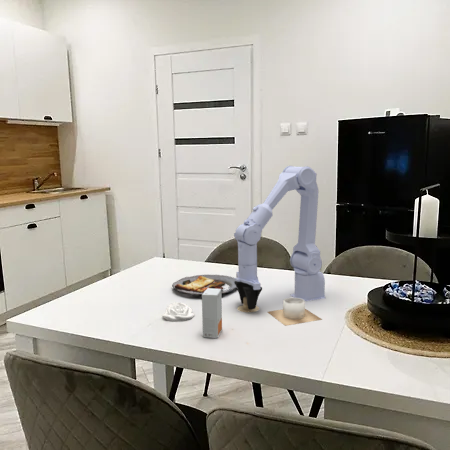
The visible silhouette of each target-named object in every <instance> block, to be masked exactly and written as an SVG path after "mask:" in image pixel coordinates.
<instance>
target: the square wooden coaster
mask: <svg viewBox="0 0 450 450" xmlns="http://www.w3.org/2000/svg"><path fill="white" fill-rule="evenodd" d="M267 313H268V314H269V315H270V316H272V317H273V318H274V319H276V320H277V321H278V322H279V323H280V324H282V325H283V326H285V327H288V326H292V325H299V324H304V323H305V324H306V323H310V322H315V321H321V320H323V318H321V317H319V316H318V315H316V314H315V313H313V312H311V311H310V310H308V309H307V308H305V317H304V318H302V319H287V318H285V317H284V316H283V308H282V309H276V310H269V311H267Z"/></svg>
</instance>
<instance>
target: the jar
mask: <svg viewBox="0 0 450 450" xmlns="http://www.w3.org/2000/svg"><path fill="white" fill-rule="evenodd" d="M282 309H283V316H284V317H285V318H287V319H302V318H304V317H305V309H306V301H305V300H303V299H301V298H294V297H292V296H291V297H286V298H284V299H282Z"/></svg>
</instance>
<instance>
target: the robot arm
mask: <svg viewBox="0 0 450 450" xmlns="http://www.w3.org/2000/svg"><path fill="white" fill-rule="evenodd" d="M317 175H318V174H317V172H316V171H315V170H314V169H313V168H312V167H310V166H308V165H307V166H306V165H305V166H294V165H287V166H286V167H284V169H283V170H282V171H281V173H279V175H278V180H277V182H276V183H275V184H274V186H273V187H272V189H271V190H270V193H268V195H267V197H266V198H265V200H264V202H263V203H258V204H257V205H255V206H254V207H253V208H252V211H251V213H250V214H249V215H248V217H247V218H246V219H244V220H243V223H241V224H239V225H238V227H237V228H236V229H235V233H233V236H234V239H235V240H236V242H237V254H238V255H237V258H238V259H237V261H238V262H237V263H238V266H237V267H238V269H237V271H236V272H235V273H236V277H234V278H235V280H236V281H235V282H234V283H235V285H236V287H237V288H236V289H237V291H238V294H239V299H240V303H241V304H242V305H243V298H244V297H246V298H247V305H248V309H255V308H256V306H257V303H258V299H259V296H260V294H261V293H262V291H263V287H262V286H261V285H262V284H261V282H260V281H259V276H258V247H257V246H258V242H259V241H260V240H261V237H262V232H263V229H264V228H265V227H266V226H267V224H268V222H269V221H271V219H272V217H273V210H274V208H275V207H276V206H277V205H278V204H279V202H280V201H281V200H282V198H284V197H285V195H287V193H288V192H290V191H293V190H294V191H296V192H297V193H298V194H299V196H300V203H299V204H300V207H299V220H298V221H299V223H298V237H297V239H298V240H297V243H296V244H295V245H294V246H293V249H292V253H291V256H290V259H289V262H290V263H289V264H290V266H291V267H292V268H293V271H294V293H292V294H289V296H290V297H291V298H292V297H294V298H301V299H303V300H305V302H308V301H310V302H311V301H315V300H316V301H317V300H323V299H326V296H325V293H326V292H325V284H326V281H325V276H324V274H323V272H321V269H322V265H323V263H322V262H323V261H322V258H321V250H320V249H319V247H317V245H316V236H317V235H316V234H317V220H318V219H317V218H318V208H319V207H318V206H319V205H318V204H319V187H318V183H317Z"/></svg>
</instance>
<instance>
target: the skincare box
mask: <svg viewBox="0 0 450 450" xmlns="http://www.w3.org/2000/svg"><path fill="white" fill-rule="evenodd" d="M222 300H223V299H222V293H221V289H214V288H207V289H206V290H205V291H204V293H203V294H202V295H201V308H202V309H201V311H202V312H201V313H202V314H201V316H202V318H201V319H202V337H203V338H209V339H218V338H219V335H221V333H222V331H223V309H222V308H223V307H222V306H223V303H222V302H223V301H222Z"/></svg>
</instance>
